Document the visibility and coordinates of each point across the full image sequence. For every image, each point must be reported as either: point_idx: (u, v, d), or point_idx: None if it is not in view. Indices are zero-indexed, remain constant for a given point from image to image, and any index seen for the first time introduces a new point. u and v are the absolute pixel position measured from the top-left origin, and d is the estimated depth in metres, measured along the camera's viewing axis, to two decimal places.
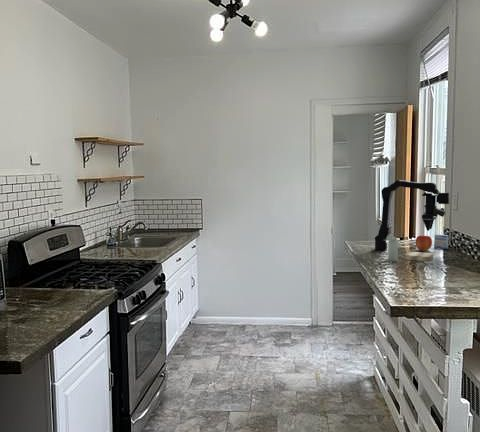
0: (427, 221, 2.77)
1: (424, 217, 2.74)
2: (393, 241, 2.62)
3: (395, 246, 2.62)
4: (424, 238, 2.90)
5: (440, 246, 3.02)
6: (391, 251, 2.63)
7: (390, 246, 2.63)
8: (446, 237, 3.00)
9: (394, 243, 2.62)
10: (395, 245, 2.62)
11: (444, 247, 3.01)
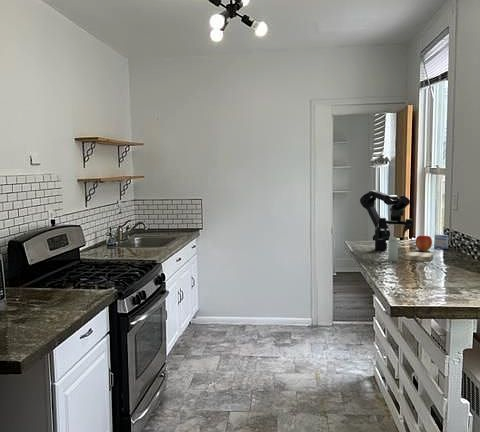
0: None
1: (378, 224, 2.81)
2: (393, 241, 2.62)
3: (395, 246, 2.62)
4: (424, 238, 2.90)
5: (440, 246, 3.02)
6: (391, 251, 2.63)
7: (390, 246, 2.63)
8: (446, 237, 3.00)
9: (394, 243, 2.62)
10: (395, 245, 2.62)
11: (444, 247, 3.01)
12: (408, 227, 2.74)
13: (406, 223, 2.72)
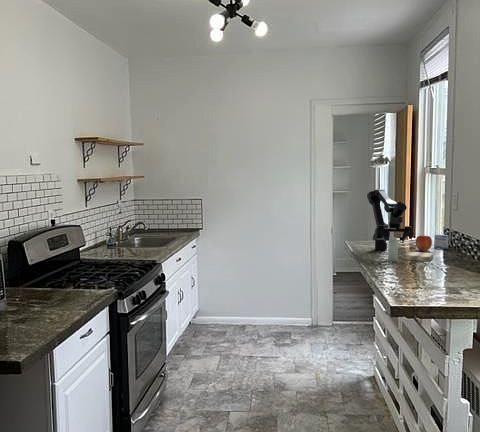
0: None
1: None
2: (393, 241, 2.62)
3: (395, 246, 2.62)
4: (424, 238, 2.90)
5: (440, 246, 3.02)
6: (391, 251, 2.63)
7: (390, 246, 2.63)
8: (446, 237, 3.00)
9: (394, 243, 2.62)
10: (395, 245, 2.62)
11: (444, 247, 3.01)
12: (407, 234, 2.69)
13: (405, 230, 2.67)
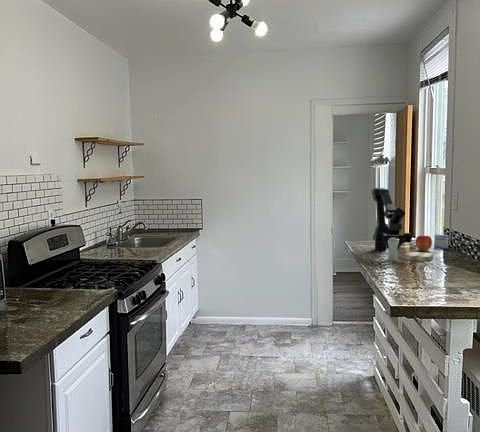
0: (386, 241, 2.68)
1: (376, 238, 2.72)
2: (393, 241, 2.62)
3: (395, 246, 2.62)
4: (424, 238, 2.90)
5: (440, 246, 3.02)
6: (391, 251, 2.63)
7: (390, 246, 2.63)
8: (446, 237, 3.00)
9: (394, 243, 2.62)
10: (395, 245, 2.62)
11: (444, 247, 3.01)
12: (403, 241, 2.66)
13: (401, 237, 2.64)
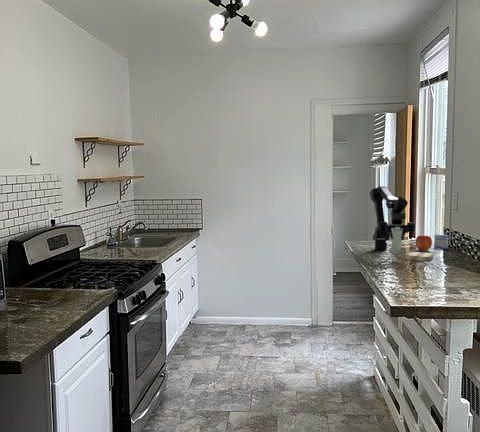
0: None
1: (379, 228, 2.71)
2: (397, 231, 2.62)
3: (399, 236, 2.62)
4: (424, 238, 2.90)
5: (440, 246, 3.02)
6: (395, 241, 2.62)
7: (394, 236, 2.62)
8: (446, 237, 3.00)
9: (398, 233, 2.61)
10: (399, 235, 2.62)
11: (444, 247, 3.01)
12: (406, 231, 2.66)
13: (404, 227, 2.64)
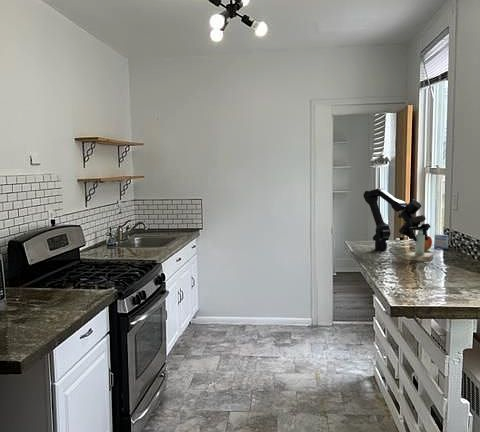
0: (409, 233, 2.70)
1: (400, 231, 2.70)
2: (422, 235, 2.67)
3: (424, 240, 2.68)
4: None
5: (440, 246, 3.02)
6: (421, 245, 2.67)
7: (420, 240, 2.67)
8: (446, 237, 3.00)
9: (424, 237, 2.67)
10: (424, 239, 2.68)
11: (444, 247, 3.01)
12: None
13: (426, 228, 2.72)
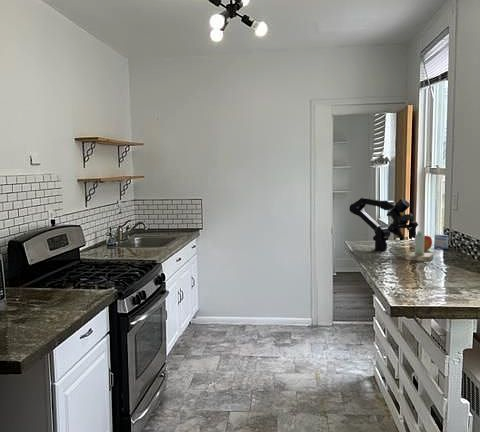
0: (396, 231, 2.79)
1: (388, 229, 2.80)
2: (422, 235, 2.68)
3: (423, 240, 2.68)
4: None
5: (440, 246, 3.02)
6: (421, 245, 2.67)
7: (420, 240, 2.67)
8: (446, 237, 3.00)
9: (423, 237, 2.67)
10: (424, 238, 2.68)
11: (444, 247, 3.01)
12: None
13: (414, 226, 2.81)
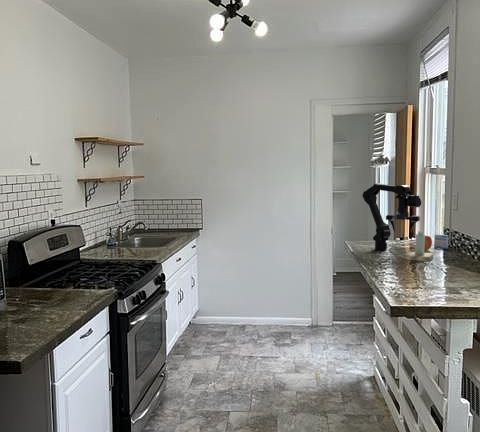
0: None
1: None
2: (423, 235, 2.67)
3: (424, 240, 2.68)
4: None
5: (440, 246, 3.02)
6: (422, 245, 2.67)
7: (421, 240, 2.67)
8: (446, 237, 3.00)
9: (424, 237, 2.67)
10: (424, 239, 2.68)
11: (444, 247, 3.01)
12: (415, 222, 2.81)
13: (412, 222, 2.79)
